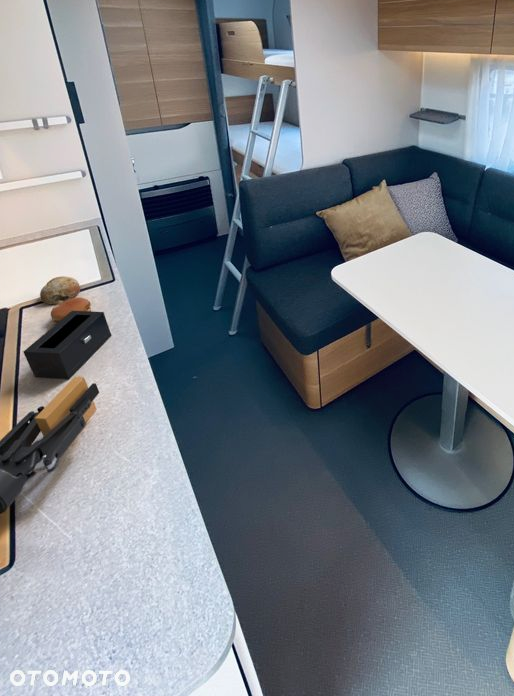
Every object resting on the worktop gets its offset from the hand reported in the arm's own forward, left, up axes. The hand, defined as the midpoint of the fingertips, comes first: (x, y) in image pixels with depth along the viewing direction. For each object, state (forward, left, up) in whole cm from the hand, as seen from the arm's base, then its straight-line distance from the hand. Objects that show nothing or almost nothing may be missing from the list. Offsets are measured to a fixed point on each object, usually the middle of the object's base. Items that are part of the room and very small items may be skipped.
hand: (85, 387), depth 88 cm
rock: (-40, +39, -6) cm, 56 cm away
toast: (0, -5, -6) cm, 8 cm away
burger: (-28, +29, -6) cm, 41 cm away
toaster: (-16, +15, -6) cm, 23 cm away
